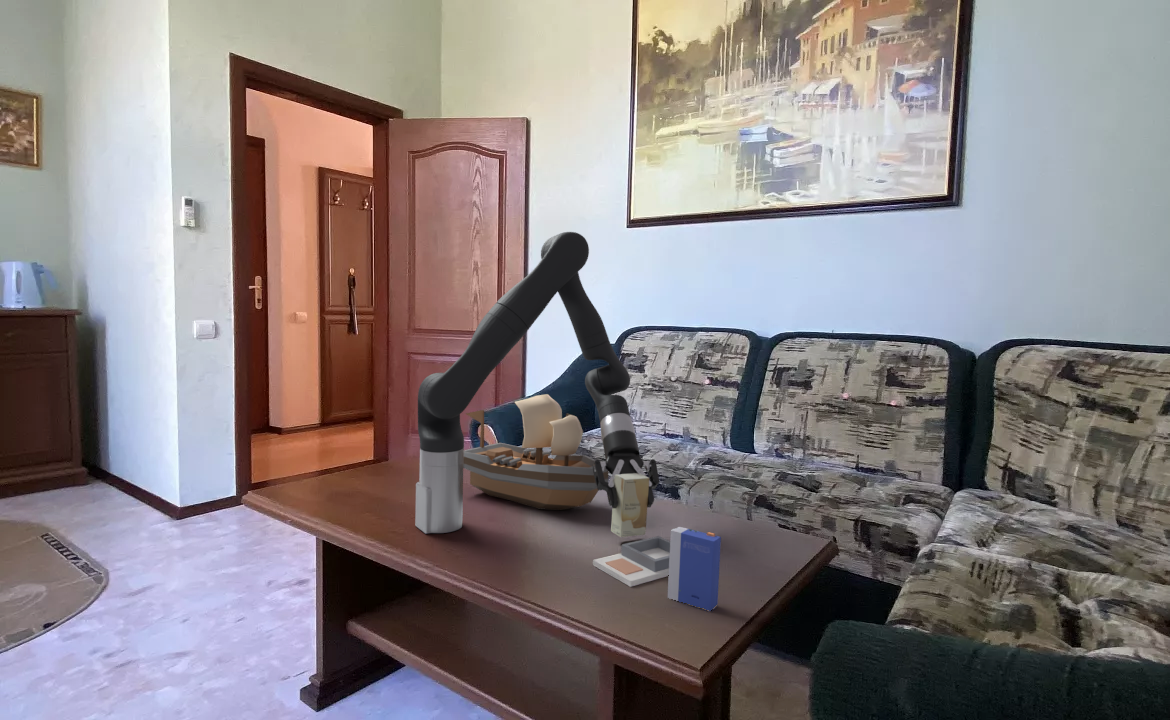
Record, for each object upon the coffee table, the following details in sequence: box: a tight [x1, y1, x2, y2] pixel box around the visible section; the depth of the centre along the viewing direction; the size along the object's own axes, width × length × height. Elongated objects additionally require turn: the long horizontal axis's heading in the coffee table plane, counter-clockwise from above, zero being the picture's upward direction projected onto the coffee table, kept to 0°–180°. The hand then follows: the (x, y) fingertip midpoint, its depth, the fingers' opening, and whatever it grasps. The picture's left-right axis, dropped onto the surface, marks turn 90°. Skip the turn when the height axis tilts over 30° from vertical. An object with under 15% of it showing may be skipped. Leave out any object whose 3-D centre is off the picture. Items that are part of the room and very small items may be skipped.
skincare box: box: [610, 473, 650, 539], centre depth 131 cm, size 6×4×12 cm
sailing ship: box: [463, 393, 609, 511], centre depth 158 cm, size 16×45×27 cm, turn 55°
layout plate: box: [592, 535, 670, 588], centre depth 118 cm, size 16×11×3 cm
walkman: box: [667, 526, 722, 612], centre depth 104 cm, size 8×3×12 cm, turn 54°
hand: (632, 506), depth 129 cm, fingers closed on skincare box, 7 cm apart
